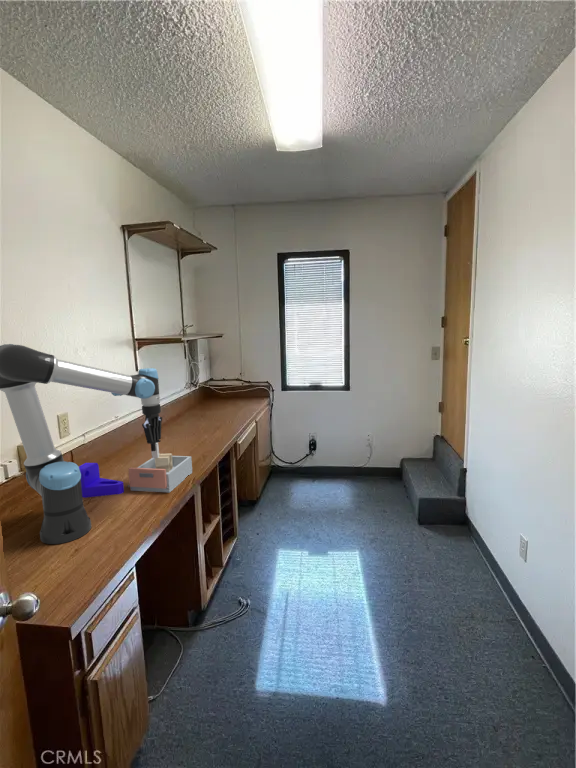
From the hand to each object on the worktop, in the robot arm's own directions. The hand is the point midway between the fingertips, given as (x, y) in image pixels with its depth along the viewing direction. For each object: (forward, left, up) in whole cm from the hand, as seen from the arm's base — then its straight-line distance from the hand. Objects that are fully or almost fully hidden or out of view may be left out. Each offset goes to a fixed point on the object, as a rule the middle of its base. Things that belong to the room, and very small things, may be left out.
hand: (155, 457), depth 167 cm
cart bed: (+5, 0, -13) cm, 14 cm away
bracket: (-9, +20, -13) cm, 26 cm away
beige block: (+11, +2, -10) cm, 15 cm away
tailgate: (-8, 0, -7) cm, 11 cm away
